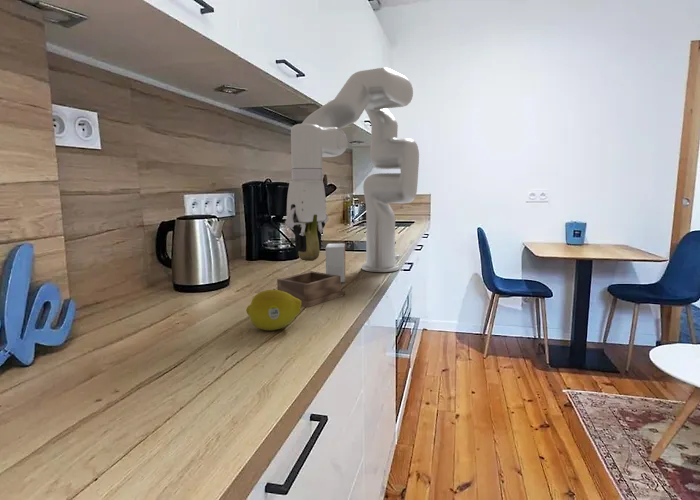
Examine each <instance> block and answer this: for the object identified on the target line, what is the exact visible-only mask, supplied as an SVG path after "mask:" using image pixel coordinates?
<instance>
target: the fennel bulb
mask: <svg viewBox="0 0 700 500" xmlns="http://www.w3.org/2000/svg"><path fill="white" fill-rule="evenodd" d="M300 226H301V225H299V228H300ZM304 235H305V236H306V252H300V251H297V253H298V256H299V258H300V259H301V261H305V262H313V261H316V260H317V259H318V258H319V256H320V249H319V241H318V236H317V215H314V217H313V222H312V223H306V226H305V232H304Z"/></svg>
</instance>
